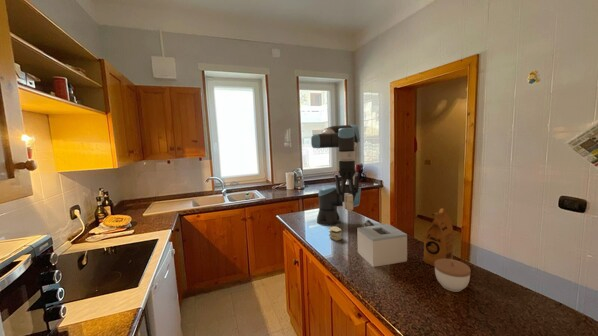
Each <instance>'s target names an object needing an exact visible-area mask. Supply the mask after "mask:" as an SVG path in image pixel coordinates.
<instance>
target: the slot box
mask: <svg viewBox="0 0 598 336" xmlns="http://www.w3.org/2000/svg"><path fill="white" fill-rule="evenodd" d="M356 236H357V237H356V238H357V253H358V255H360V256H361V257H362V259H364V260H365V261H366V262H367V263H369V264H370V266H371V267H372V268H374V267H380V266H381V267H382V266H386V265H393V264H398V263H405V262H407V261H408V234H407V233H406V232H404V231H402V230H400V229H398V228H397V227H395V226H393V225H392V224H390V223H385V224H374V226H367V227H363V226H361V227H357V235H356Z"/></svg>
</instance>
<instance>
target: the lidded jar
mask: <svg viewBox="0 0 598 336" xmlns="http://www.w3.org/2000/svg"><path fill="white" fill-rule="evenodd" d="M434 265H435V266H434V274H435V278H436V280H437V282H438V283H439V284H440V285H441V286H442V288H443V289H445V290H446V291H450V292H454V293H458V292H461V291H462V290H464V289H466V288H467V287H468V285H469V282H470V280H471V272H472V270H471V268H470V266H469V265H468V264H466V263H464V262H463V261H459V260H456V259H454V258H453V259H438V260H436V261H435V263H434Z"/></svg>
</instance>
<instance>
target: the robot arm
mask: <svg viewBox="0 0 598 336" xmlns="http://www.w3.org/2000/svg"><path fill="white" fill-rule="evenodd" d="M310 138H311V139H310V140H311V141H310V142H311V143H310V144H311V147H312V149H328V148H330V149H331V148H333V149H335V148H338V160H339V161H338V172H337V173H334V174H333V178H334V179H335V185H327V186H322V187H320V188H319V189H318V214H317V216H316V222H317V224H319V225H320V226H321V225H323V226H334V225H338V224H340V223H341V218H340V214H339V211H338V207H342V208H343V209H344V210H346V195H345V193H349V194H351V195H353V208H355V207H359V205H360V201H361V195H362V188H361V187H359V186H360V185H359V182H360V176H361V172H357V171H356V170H357V169H356V168H357V167H356V161H357V160H356V156H357V155H356V147H357V146H358V143H359V142H361V141H360V138H361V137H360V130H359V127H358V125H356V124H343V125H331V126H328V127H326V128H324V129H322V130H321V132H320V133H315V134H312V135H311V137H310ZM340 178H341V179H340ZM340 180H341V181H340Z"/></svg>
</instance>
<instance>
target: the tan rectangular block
mask: <svg viewBox="0 0 598 336" xmlns="http://www.w3.org/2000/svg"><path fill="white" fill-rule="evenodd" d="M345 195H346V209H345V210H346V211H353V210H354V207H353V195H351V194H349V193H345Z"/></svg>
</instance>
